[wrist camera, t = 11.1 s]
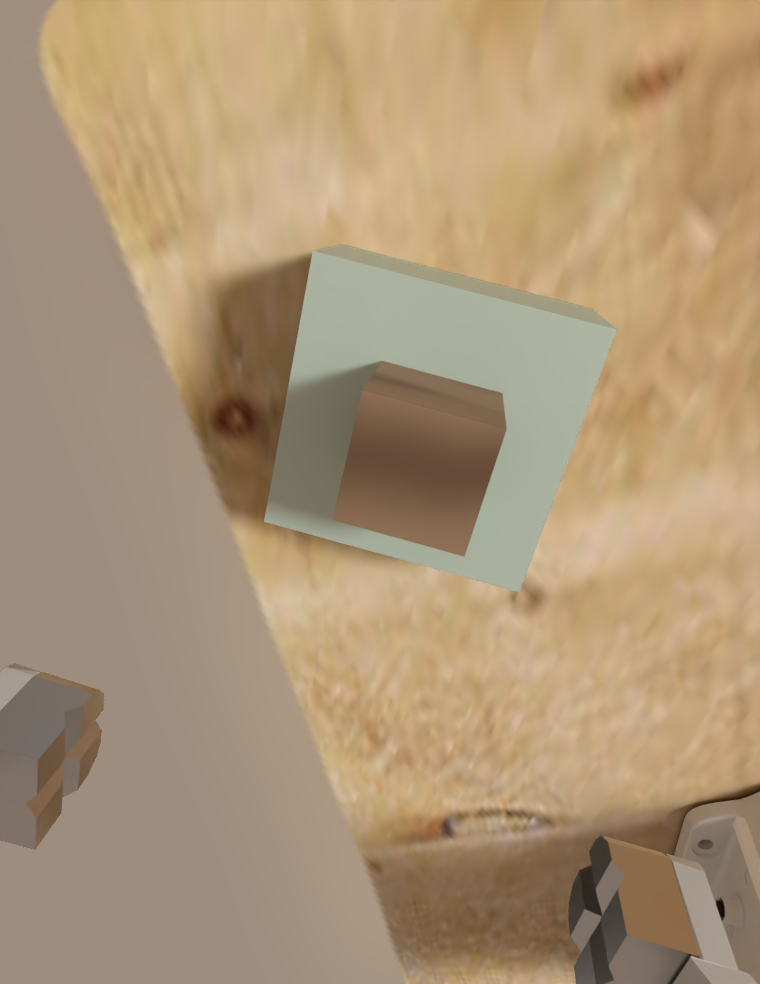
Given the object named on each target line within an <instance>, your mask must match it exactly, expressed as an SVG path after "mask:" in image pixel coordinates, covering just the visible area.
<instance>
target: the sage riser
mask: <svg viewBox="0 0 760 984" xmlns="http://www.w3.org/2000/svg"><path fill="white" fill-rule="evenodd" d="M616 331H617V329H616V328H615V327H613V326H612V325H611V324H610V323H609V322H607V321H606V320H605V319H604V318H603V317H601V316H600V315H599V314H598V313H597V312H596V311H594V310H593V309H590V308H586V307H582V306H578V305H574V304H571V303H567V302H563V301H559V300H555V299H551V298H547V297H543V296H540V295H536V294H532V293H528V292H524V291H520V290H516V289H512V288H509V287H505V286H501V285H497V284H493V283H489V282H485V281H481V280H478V279H474V278H470V277H466V276H462V275H458V274H454V273H450V272H447V271H443V270H439V269H435V268H431V267H427V266H423V265H419V264H416V263H412V262H408V261H404V260H400V259H396V258H392V257H388V256H385V255H381V254H377V253H373V252H369V251H365V250H361V249H358V248H354V247H350V246H346V245H338V246H333V247H328V248H323V249H319V250H314V251H313V252H312V257H311V263H310V269H309V274H308V280H307V285H306V291H305V296H304V302H303V307H302V313H301V319H300V324H299V330H298V335H297V341H296V346H295V352H294V357H293V363H292V368H291V374H290V380H289V385H288V391H287V396H286V402H285V407H284V413H283V418H282V424H281V430H280V435H279V441H278V446H277V452H276V457H275V463H274V468H273V474H272V479H271V485H270V491H269V496H268V502H267V507H266V513H265V518H264V522H267V523H270V524H274V525H277V526H281V527H285V528H288V529H292V530H296V531H299V532H303V533H307V534H310V535H314V536H317V537H321V538H325V539H328V540H332V541H336V542H339V543H343V544H346V545H350V546H354V547H357V548H361V549H365V550H368V551H372V552H375V553H379V554H383V555H386V556H390V557H394V558H397V559H401V560H405V561H408V562H412V563H415V564H419V565H423V566H426V567H430V568H434V569H437V570H441V571H444V572H448V573H452V574H455V575H459V576H463V577H466V578H470V579H474V580H477V581H481V582H484V583H488V584H492V585H495V586H499V587H503V588H506V589H510V590H513V591H517V592H519V591H520V589H521V586H522V583H523V580H524V578H525V575H526V572H527V570H528V567H529V564H530V562H531V559H532V556H533V554H534V551H535V548H536V546H537V543H538V540H539V538H540V535H541V532H542V529H543V527H544V524H545V521H546V519H547V516H548V513H549V511H550V508H551V505H552V503H553V500H554V497H555V495H556V492H557V489H558V487H559V484H560V481H561V478H562V476H563V473H564V470H565V468H566V465H567V462H568V460H569V457H570V454H571V452H572V449H573V446H574V444H575V441H576V438H577V436H578V433H579V430H580V428H581V425H582V422H583V419H584V417H585V414H586V411H587V409H588V406H589V403H590V401H591V398H592V395H593V393H594V390H595V387H596V385H597V382H598V379H599V377H600V374H601V371H602V368H603V366H604V363H605V360H606V358H607V355H608V352H609V350H610V347H611V344H612V342H613V339H614V336H615V334H616ZM382 361H385V362H389V363H393V364H396V365H400V366H404V367H407V368H411V369H415V370H419V371H422V372H426V373H430V374H433V375H437V376H441V377H445V378H448V379H452V380H456V381H459V382H463V383H467V384H471V385H474V386H478V387H482V388H485V389H489V390H493V391H497V392H500V393H502V394H503V403H504V411H505V419H506V428H507V430H506V433H505V436H504V439H503V442H502V445H501V448H500V451H499V454H498V457H497V460H496V463H495V466H494V469H493V472H492V475H491V478H490V481H489V484H488V487H487V490H486V493H485V496H484V499H483V502H482V505H481V509H480V512H479V515H478V518H477V521H476V524H475V527H474V530H473V533H472V536H471V539H470V542H469V545H468V548H467V551H466V554H465V557H464V556H460V555H456V554H453V553H449V552H446V551H442V550H439V549H435V548H431V547H428V546H424V545H421V544H417V543H413V542H410V541H406V540H403V539H399V538H395V537H392V536H388V535H385V534H381V533H378V532H374V531H370V530H367V529H363V528H360V527H356V526H352V525H349V524H345V523H342V522H338V521H334V520H332V518H333V514H334V510H335V506H336V501H337V497H338V493H339V488H340V484H341V480H342V475H343V471H344V467H345V462H346V458H347V454H348V450H349V445H350V441H351V437H352V432H353V428H354V424H355V419H356V415H357V411H358V406H359V402H360V398H361V394H362V390H363V388H364V387H365V385H366V384H367V383H368V381H369V380H370V378H371V377H372V375H373V374H374V372H375V371H376V369H377V368H378V366H379V365H380V363H381V362H382Z"/></svg>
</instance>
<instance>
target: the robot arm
mask: <svg viewBox="0 0 760 984" xmlns="http://www.w3.org/2000/svg"><path fill="white" fill-rule="evenodd" d="M103 707H104V693H103V692H101V691H100V690H98V689H95V688H91V687H88V686H85V685H82V684H79V683H76V682H73V681H69V680H66V679H63V678H60V677H57V676H54V675H50V674H48V673H44V672H43V673H42V672H39V671H36V670H33V669H30V668H27V667H24V666H21V665H18V664H12V665H9V666H7V667H5V668H3V669H2V670H1V671H0V840H2V841H5V842H9V843H12V844H16V845H20V846H23V847H27V848H31V849H36V847H37V846H38V845H39V843H40V842H41V841H42V839H43V838H44V836H45V835H46V834H47V832H48V831H49V829H50V828H51V827H52V825H53V824H54V823H55V821H56V820H57V818H58V817H59V816H60V814H61V810H62V797H64V796H66V795H68V794H70V793H72V792H74V791H76V790H78V789H79V787H80V786H81V784H82V783H83V781H84V780H85V779H86V777H87V776H88V774H89V772H90V770H91V767H92V765H93V763H94V761H95V759H96V757H97V753H98V750H99V746H100V742H101V732H102V731H101V729H100V727H99V725H98V724H97V722H96V721H95V720H96V718H97V717H98V716H99V715H100V713H101V712H102V711H103ZM589 852H590V858H591V865H590V866H588V867H586V868H584V869H582V870H580V871H579V872H578V875H577V877H576V879H575V881H574V883H573V886H572V890H571V896H570V901H569V928H570V937H571V938H572V940H573V941H574V943H575V944H576V946H577V947H578V949H579V950H580V952H581V955H580V957H579V958H578V960H577V962H576V964H575V966H574V970H575V978H576V984H760V792H758V793H755V794H753V795H751V796H748V797H745V798H742V799H738V800H730V801H723V802H716V803H710V804H706V805H701V806H698V807H696V808H694V809H692V810H690V811H689V812H688V813H687V815H686V816H685V819H684V822H683V825H682V829H681V832H680V836H679V839H678V843H677V846H676V850H675V853H674V856H673V855H670V854H666V853H665V854H663V853H662V852H659V851H656V850H652V849H648V848H645V847H641V846H638V845H634V844H631V843H627V842H623V841H620V840H616V839H613V838H609V837H605V836H602V835H601V836H600V837H599V838H598V839H596V840H595V842H594V844H593V845H592V847H591V849H590V851H589Z"/></svg>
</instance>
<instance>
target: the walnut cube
mask: <svg viewBox="0 0 760 984" xmlns="http://www.w3.org/2000/svg"><path fill="white" fill-rule="evenodd" d="M506 430H507V428H506V419H505V411H504V403H503V394H502V393H500V392H497V391H493V390H489V389H485V388H482V387H478V386H474V385H471V384H467V383H463V382H459V381H456V380H452V379H448V378H445V377H441V376H437V375H433V374H430V373H426V372H422V371H419V370H415V369H411V368H407V367H404V366H400V365H396V364H393V363H389V362H385V361H382V362H381V363H380V365H379V366H378V368H377V369H376V371H375V372H374V374H373V375H372V377H371V378H370V380H369V381H368V383H367V384H366V385H365V387H364V388H363V390H362V394H361V398H360V402H359V406H358V411H357V415H356V419H355V424H354V428H353V432H352V437H351V441H350V445H349V450H348V454H347V458H346V462H345V467H344V471H343V475H342V480H341V484H340V488H339V493H338V497H337V501H336V506H335V510H334V514H333V518H332V520H334V521H338V522H342V523H345V524H349V525H352V526H356V527H360V528H363V529H367V530H370V531H374V532H378V533H381V534H385V535H388V536H392V537H395V538H399V539H403V540H406V541H410V542H413V543H417V544H421V545H424V546H428V547H431V548H435V549H439V550H442V551H446V552H449V553H453V554H456V555H460V556H464V557H465V554H466V551H467V548H468V545H469V542H470V539H471V536H472V533H473V530H474V527H475V524H476V521H477V518H478V515H479V512H480V509H481V505H482V502H483V499H484V496H485V493H486V490H487V487H488V484H489V481H490V478H491V475H492V472H493V469H494V466H495V463H496V460H497V457H498V454H499V451H500V448H501V445H502V442H503V439H504V436H505V433H506Z"/></svg>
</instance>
